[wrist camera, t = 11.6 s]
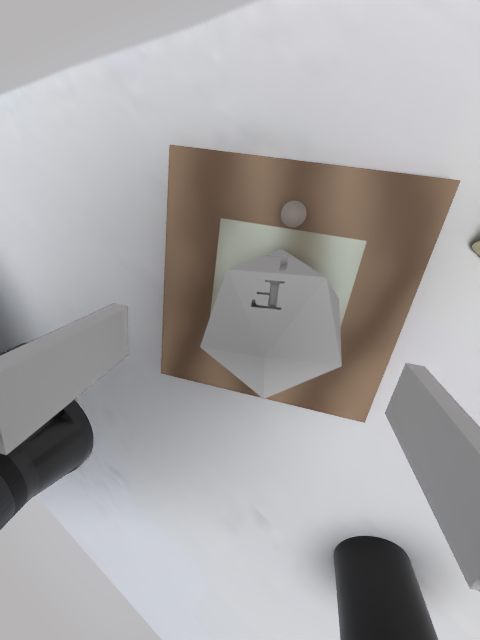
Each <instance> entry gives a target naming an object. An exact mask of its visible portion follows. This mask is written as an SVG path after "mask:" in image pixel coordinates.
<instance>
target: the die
mask: <svg viewBox="0 0 480 640" xmlns="http://www.w3.org/2000/svg"><path fill="white" fill-rule="evenodd" d="M200 347H201V348H202V349H203V350H204V351H206V352H207V353H208V354H209V355H210V356H212V357H213V358H214V359H215V360H217V361H218V362H219V363H220V364H221V365H223V366H224V367H225V368H226V369H228V370H229V371H230V372H231V373H232V374H234V375H235V376H236V377H237V378H239V379H240V380H241V381H242V382H244V383H245V384H246V385H247V386H248V387H250V388H251V389H252V390H253V391H255V392H256V393H257V394H258V395H259V396H261V397H262V398H263V399H265V398H267V397H270V396H272V395H275V394H277V393H279V392H282V391H284V390H286V389H289V388H291V387H294V386H296V385H298V384H301V383H303V382H305V381H308V380H310V379H313V378H315V377H317V376H320V375H322V374H324V373H327V372H329V371H332V370H334V369H336V368H339V367H341V366H342V361H341V334H340V307H339V298H338V296H337V294H336V293H335V291H334V289H333V288H332V286H331V284H330V283H329V281H328V279H327V278H326V277H325V276H323V275H322V274H320V273H319V272H317V271H315V270H314V269H312V268H311V267H309V266H308V265H306V264H305V263H303V262H302V261H300V260H298V259H297V258H295V257H294V256H292V255H291V254H289V253H288V252H286V251H284V250H283V249H280V250H277V251H274V252H272V253H269V254H267V255H265V256H261V257H259V258H256V259H254V260H251V261H248V262H246V263H243V264H240V265H238V266H235V267H233V268H230V269H228V270H227V272H226V275H225V277H224V279H223V281H222V284H221V286H220V289H219V292H218V295H217V298H216V301H215V304H214V307H213V310H212V313H211V316H210V319H209V322H208V325H207V328H206V331H205V334H204V337H203V340H202V343H201V346H200Z"/></svg>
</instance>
